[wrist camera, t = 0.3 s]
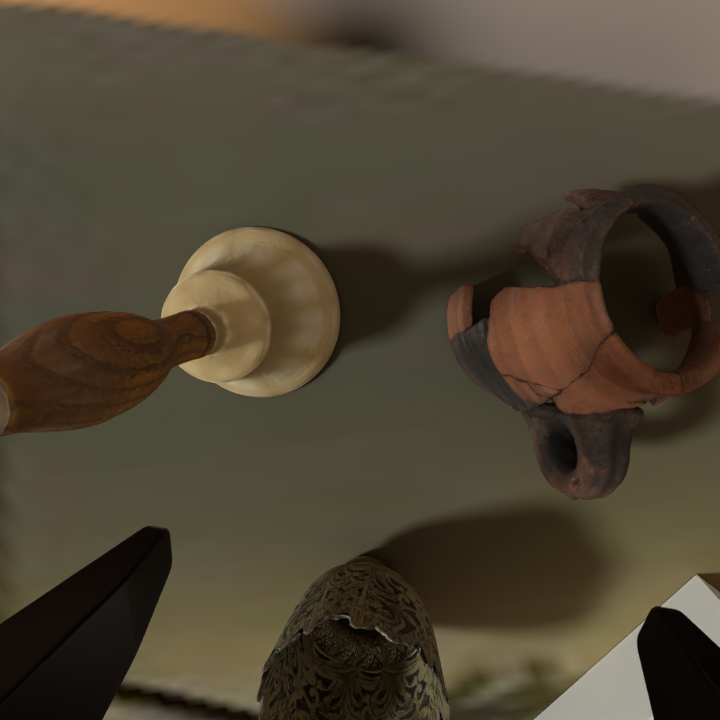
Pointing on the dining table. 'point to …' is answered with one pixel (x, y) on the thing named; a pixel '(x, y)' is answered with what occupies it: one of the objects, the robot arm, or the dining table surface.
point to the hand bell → (180, 337)
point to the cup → (356, 652)
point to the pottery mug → (590, 335)
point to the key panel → (632, 666)
